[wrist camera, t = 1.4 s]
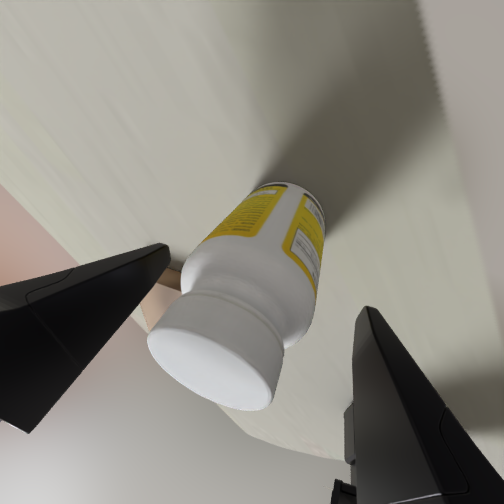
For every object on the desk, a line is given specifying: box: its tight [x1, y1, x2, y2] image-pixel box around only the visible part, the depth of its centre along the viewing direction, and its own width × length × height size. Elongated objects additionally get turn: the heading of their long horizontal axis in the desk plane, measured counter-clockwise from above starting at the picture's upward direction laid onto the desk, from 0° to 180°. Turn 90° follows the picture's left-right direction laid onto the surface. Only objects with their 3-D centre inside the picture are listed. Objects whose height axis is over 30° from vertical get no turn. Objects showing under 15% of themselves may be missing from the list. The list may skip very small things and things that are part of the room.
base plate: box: [140, 268, 182, 331], centre depth 22 cm, size 9×9×2 cm
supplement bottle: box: [147, 182, 326, 411], centre depth 10 cm, size 5×5×10 cm
